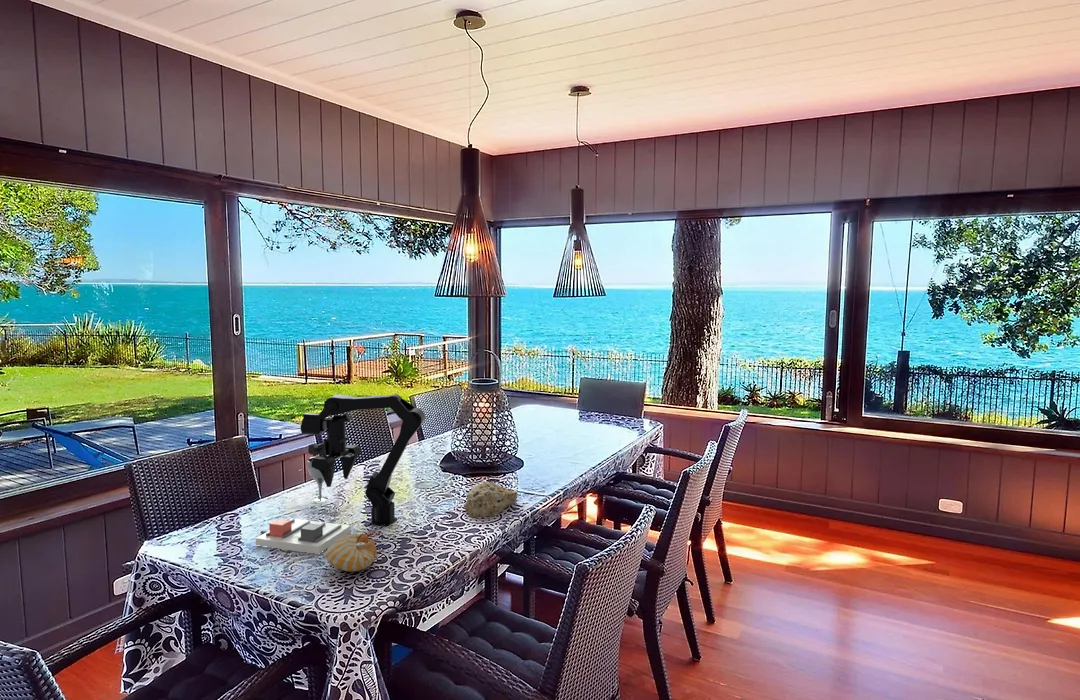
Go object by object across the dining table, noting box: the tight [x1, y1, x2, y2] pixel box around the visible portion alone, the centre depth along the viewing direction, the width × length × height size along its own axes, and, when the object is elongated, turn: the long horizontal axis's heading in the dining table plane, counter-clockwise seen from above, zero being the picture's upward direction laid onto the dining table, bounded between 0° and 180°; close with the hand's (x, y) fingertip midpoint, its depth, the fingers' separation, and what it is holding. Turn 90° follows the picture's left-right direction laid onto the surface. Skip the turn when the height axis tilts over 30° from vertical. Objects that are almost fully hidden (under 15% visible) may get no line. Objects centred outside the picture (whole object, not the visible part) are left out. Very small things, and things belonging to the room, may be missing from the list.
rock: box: [463, 481, 518, 519], centre depth 204 cm, size 21×14×10 cm
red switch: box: [268, 518, 292, 537], centre depth 175 cm, size 4×4×4 cm
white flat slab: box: [255, 518, 352, 555], centre depth 178 cm, size 26×16×3 cm, turn 75°
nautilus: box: [324, 528, 387, 573], centre depth 162 cm, size 8×22×15 cm
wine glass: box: [306, 455, 328, 501], centre depth 211 cm, size 8×8×15 cm
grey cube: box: [301, 523, 323, 542], centre depth 172 cm, size 4×4×4 cm
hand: (337, 482), depth 190 cm, fingers open, 9 cm apart
